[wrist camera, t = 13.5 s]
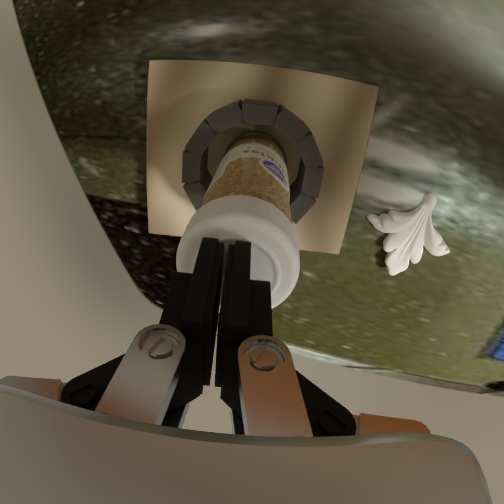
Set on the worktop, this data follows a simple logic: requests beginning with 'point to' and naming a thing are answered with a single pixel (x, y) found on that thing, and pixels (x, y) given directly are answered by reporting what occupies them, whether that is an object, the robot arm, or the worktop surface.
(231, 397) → the robot arm
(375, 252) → the worktop surface
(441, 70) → the worktop surface
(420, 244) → the acanthus leaf ornament
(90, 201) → the worktop surface
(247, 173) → the sprinkles bottle
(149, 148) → the socket board
